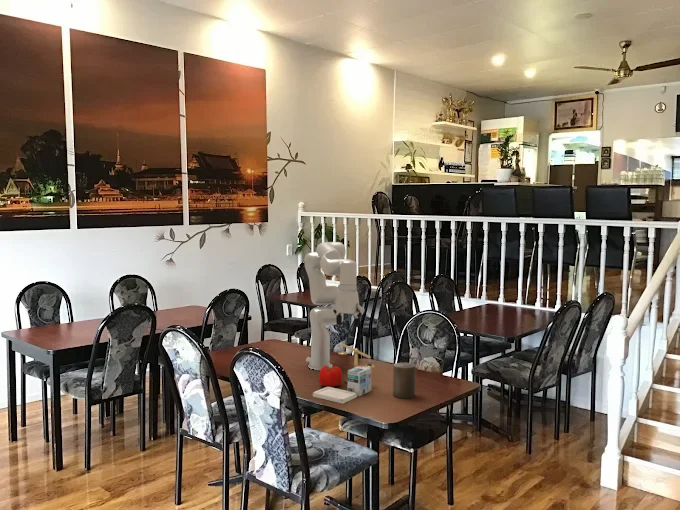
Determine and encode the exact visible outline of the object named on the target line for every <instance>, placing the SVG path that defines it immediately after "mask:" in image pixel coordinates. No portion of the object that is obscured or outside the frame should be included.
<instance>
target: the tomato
mask: <svg viewBox="0 0 680 510" xmlns="http://www.w3.org/2000/svg"><path fill="white" fill-rule="evenodd" d="M342 381H343V371H342V369H341V368H340V367H339V366H336V365H333V366H332V368H329V367H328V366H323V367H322V368H321V369H320V370H319V372H318V382H319V384H320V385H321V386H322V387H324V386H325V387H332V388H335V387H340V385H341V384H342V383H343V382H342ZM325 387H324V388H325Z"/></svg>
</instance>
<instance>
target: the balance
mask: <svg viewBox="0 0 680 510" xmlns="http://www.w3.org/2000/svg"><path fill="white" fill-rule="evenodd" d="M341 346H342V347H341V349H342V351H337V354H338V356H339V355H340V356H344V355H348V352H347V351H344V348H346V349H348V350H350V351H353V353H354V355H353V357H354V358H353V361H354V362H353V364H354V366H353V368H355V367H358V366H359V363H358V360H359V359H358V358H359V356H358V354H359V355H361V356H363V357H364V358H367V359H369V360H368V361H367V364H365V365H364V367H369V368H372V369H373V368H375V367H376V366H375V365H374V364H373V362H372V361H371V358H372V357H371V356H370V355H368V354H367V353H364V352H362V351H361V350H359V348H357V347H356V348H355V347H354V348H353V347H351V346H349V345H347V344H345V343H342V344H341ZM346 383H347V384H346ZM344 384H346V385H348V379H346V380H344Z"/></svg>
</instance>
